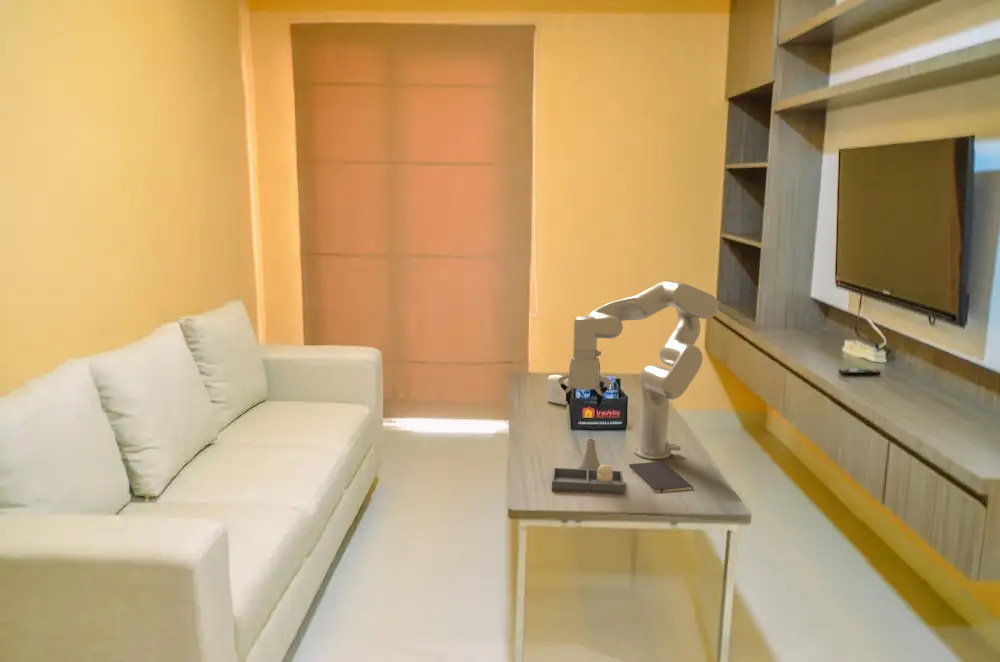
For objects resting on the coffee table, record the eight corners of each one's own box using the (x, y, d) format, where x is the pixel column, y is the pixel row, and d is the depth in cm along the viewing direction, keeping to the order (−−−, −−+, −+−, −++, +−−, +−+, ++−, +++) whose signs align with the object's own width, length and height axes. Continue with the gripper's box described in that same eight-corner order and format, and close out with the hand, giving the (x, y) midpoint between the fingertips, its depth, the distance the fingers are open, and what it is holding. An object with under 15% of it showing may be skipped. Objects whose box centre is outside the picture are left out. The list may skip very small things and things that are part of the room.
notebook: (692, 491, 222) (662, 465, 242) (692, 486, 221) (663, 461, 242) (654, 494, 219) (627, 468, 239) (654, 489, 219) (627, 464, 239)
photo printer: (570, 403, 310) (571, 376, 308) (566, 406, 307) (566, 378, 304) (550, 399, 316) (550, 372, 314) (545, 402, 312) (545, 374, 310)
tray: (621, 479, 228) (621, 470, 228) (623, 494, 218) (623, 485, 217) (553, 476, 231) (553, 467, 230) (551, 490, 220) (551, 481, 219)
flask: (603, 472, 235) (604, 443, 233) (581, 473, 234) (582, 444, 232) (598, 464, 242) (599, 436, 240) (577, 464, 241) (578, 436, 239)
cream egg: (611, 481, 226) (612, 462, 224) (612, 487, 221) (613, 468, 220) (596, 480, 226) (597, 461, 225) (596, 486, 221) (597, 467, 220)
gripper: (612, 353, 234) (611, 403, 238) (560, 350, 238) (559, 399, 242) (610, 358, 227) (609, 410, 230) (556, 355, 231) (555, 406, 234)
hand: (583, 404), depth 236 cm, fingers open, 9 cm apart
